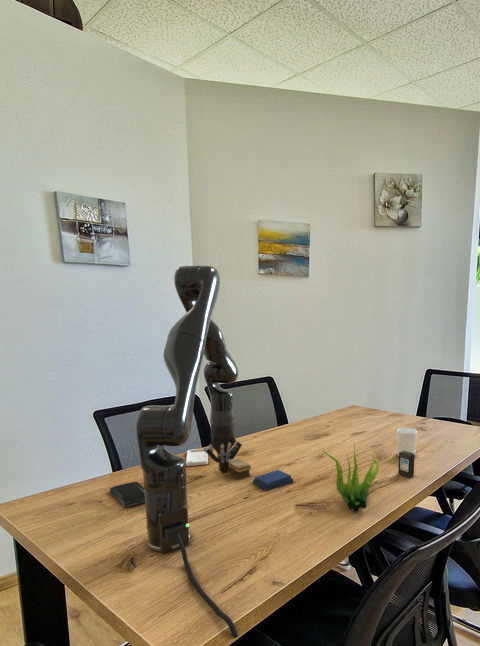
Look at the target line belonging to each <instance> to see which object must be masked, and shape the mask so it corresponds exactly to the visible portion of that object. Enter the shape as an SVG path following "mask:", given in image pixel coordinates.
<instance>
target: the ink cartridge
mask: <svg viewBox="0 0 480 646" xmlns="http://www.w3.org/2000/svg"><path fill="white" fill-rule="evenodd" d="M415 457H416V453H415V454H413V453H411V452H407V451H401V452H399V456H398V467H397V469H398V471H397V473H398V475H401V476H404V477H406V478H412V477H413V476H414V475H415Z"/></svg>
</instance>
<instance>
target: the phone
mask: <svg viewBox="0 0 480 646" xmlns="http://www.w3.org/2000/svg"><path fill="white" fill-rule="evenodd" d="M109 490H110V493H111V495H113V496H114V498H115V499H116V500H117V501H118V502H119V503H120V504H121V505H122V506H123V508H130V507H134V506H137V505H141V504H145V493H144V486H142V485H141V483H139V482H138V481H130V482H128V483H127V482H126V483H123V484H119V485H115V486H114V485H113V486H111V487H110V488H109Z"/></svg>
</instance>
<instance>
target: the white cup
mask: <svg viewBox="0 0 480 646" xmlns="http://www.w3.org/2000/svg"><path fill="white" fill-rule="evenodd" d="M418 432H419V431H418V430H417V429H415V428H413V427H400V428H397V429H396V455H397V457H399V452H401V451H407V452H411V453H413V454H415V455H416V450H417V444H418V443H417V441H418Z"/></svg>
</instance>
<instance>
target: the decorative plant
mask: <svg viewBox="0 0 480 646" xmlns="http://www.w3.org/2000/svg"><path fill="white" fill-rule="evenodd" d="M353 437H354V439H356V438H355V436H353ZM321 449H322V451H323V453H324V454H325V455H326V456H328V457H329V458H330V459H332V460H333V461H334V462H335V467H336V490H337V492H338V493H339V494H340V495H341V497H342V499H343V501H344V502H345V504H346V505H347V508H348V509H349V510H352V511H353V512H356V513H357V512H359V510H360V509H366V508H367V501H368V495H369V492H370V491H369V490H370V486H371V484H372V483H373V482H374V481H375V479H376V477H377V475H378V473H379V471H380V467H379V462H378V461H377V460H375V459H374V456H375V454H376V453H377V452H376V451H375V452H373V454H372V456H371V460H372V463H371V464H370V467H369V469H368V470H367V472H366V473H365V475H364V479H363V480H362V483H360V481H359V480H360V478H359V467H358V462H357V457H356V443H354V446H353V466H354V467H353V472H352V467H351V463H350V459H349V454H348V453H347V454H346V457H347V463H348V473H347V480H346V483H344V480H343V479H344V478H343V477H344V476H343V468H342V465H341V463H340V460H339V459H337V458H336V457H334V456H333V455H331V454H329V453H328V452H326V450H325V449H324V448H323V447H321ZM374 464H375V467H374ZM373 467H374V469H373Z"/></svg>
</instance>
